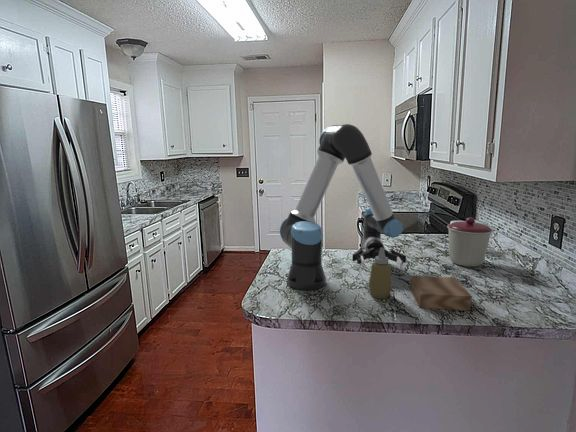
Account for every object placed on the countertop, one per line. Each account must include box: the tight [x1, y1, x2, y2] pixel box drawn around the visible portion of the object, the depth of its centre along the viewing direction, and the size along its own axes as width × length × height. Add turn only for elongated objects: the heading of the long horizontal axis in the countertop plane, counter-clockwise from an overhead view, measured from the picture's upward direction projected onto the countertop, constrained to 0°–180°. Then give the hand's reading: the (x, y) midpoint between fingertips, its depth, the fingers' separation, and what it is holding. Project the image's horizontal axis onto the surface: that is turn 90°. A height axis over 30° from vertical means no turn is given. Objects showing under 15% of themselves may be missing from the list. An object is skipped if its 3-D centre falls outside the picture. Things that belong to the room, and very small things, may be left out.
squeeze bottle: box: [368, 247, 393, 300], centre depth 124 cm, size 8×8×18 cm
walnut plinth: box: [409, 275, 473, 311], centre depth 123 cm, size 16×16×5 cm
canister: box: [446, 217, 494, 268], centre depth 157 cm, size 18×18×21 cm
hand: (382, 265), depth 128 cm, fingers open, 13 cm apart
